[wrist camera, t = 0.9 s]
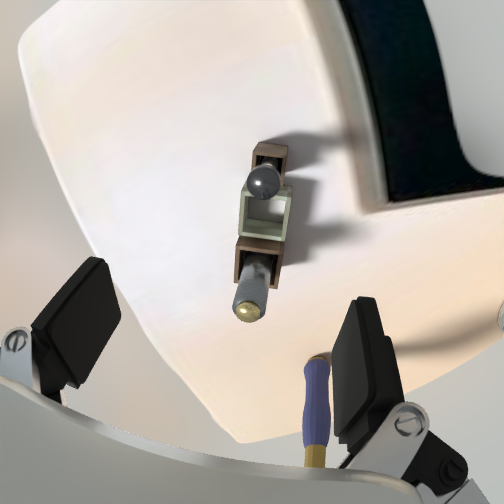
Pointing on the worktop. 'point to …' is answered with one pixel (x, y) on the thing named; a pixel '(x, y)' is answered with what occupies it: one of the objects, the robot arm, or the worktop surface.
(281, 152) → the compartment holder
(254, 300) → the gray yellow-capped cylinder
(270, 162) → the round dark gray knob
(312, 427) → the rubber mallet
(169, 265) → the worktop surface
